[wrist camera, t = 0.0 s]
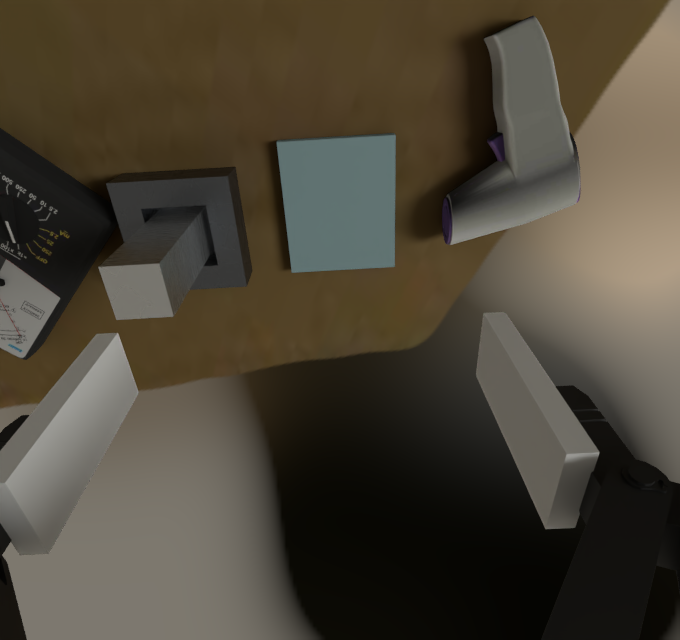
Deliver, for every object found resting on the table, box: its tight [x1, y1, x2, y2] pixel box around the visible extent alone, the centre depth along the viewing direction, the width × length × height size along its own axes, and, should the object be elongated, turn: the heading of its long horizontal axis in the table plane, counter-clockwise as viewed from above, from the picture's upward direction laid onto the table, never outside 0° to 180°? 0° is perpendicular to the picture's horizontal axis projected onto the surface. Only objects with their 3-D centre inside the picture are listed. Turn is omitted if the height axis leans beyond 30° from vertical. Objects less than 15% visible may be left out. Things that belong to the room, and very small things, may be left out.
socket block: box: [106, 167, 252, 290], centre depth 41 cm, size 10×10×4 cm
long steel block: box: [98, 206, 214, 320], centre depth 37 cm, size 4×4×13 cm
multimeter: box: [0, 128, 118, 360], centre depth 42 cm, size 13×19×5 cm
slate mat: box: [277, 133, 396, 273], centre depth 42 cm, size 12×10×1 cm
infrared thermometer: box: [442, 16, 580, 245], centre depth 38 cm, size 5×12×15 cm
